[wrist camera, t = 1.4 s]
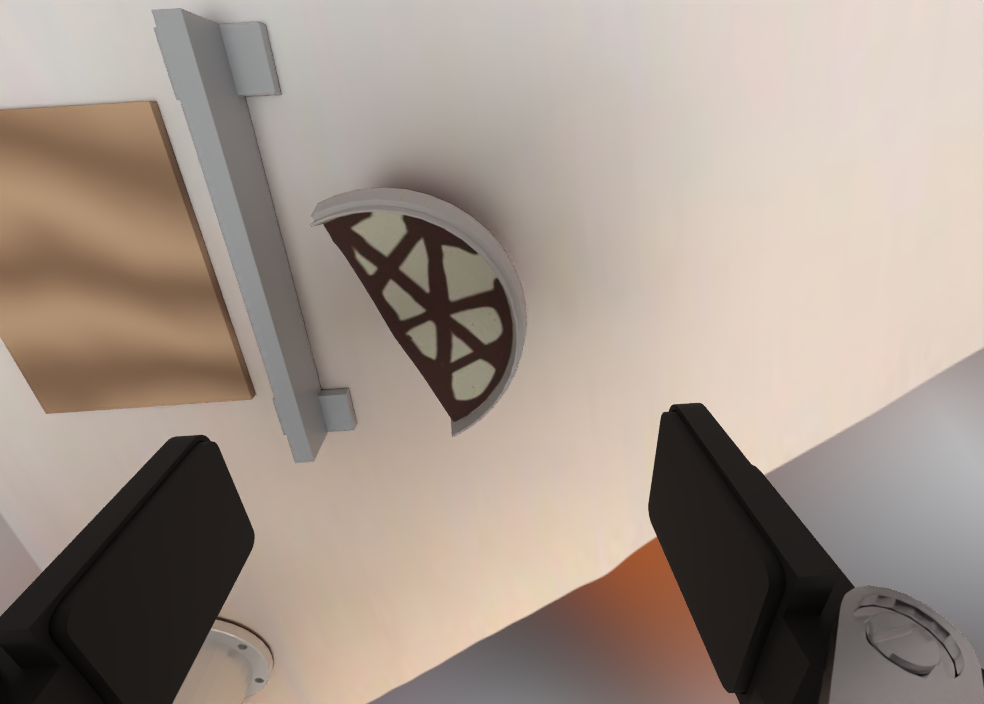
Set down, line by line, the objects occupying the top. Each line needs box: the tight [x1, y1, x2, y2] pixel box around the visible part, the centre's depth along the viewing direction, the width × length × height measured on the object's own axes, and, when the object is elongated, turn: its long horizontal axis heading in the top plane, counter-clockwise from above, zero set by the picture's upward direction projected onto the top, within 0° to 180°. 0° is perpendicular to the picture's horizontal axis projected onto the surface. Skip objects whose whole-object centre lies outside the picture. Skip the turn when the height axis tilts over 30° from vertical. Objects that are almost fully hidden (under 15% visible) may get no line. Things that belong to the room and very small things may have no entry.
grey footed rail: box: [152, 8, 357, 463], centre depth 26 cm, size 24×5×4 cm, turn 3°
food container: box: [310, 187, 527, 437], centre depth 23 cm, size 12×6×10 cm, turn 26°
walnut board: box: [0, 101, 255, 414], centre depth 27 cm, size 18×14×1 cm
